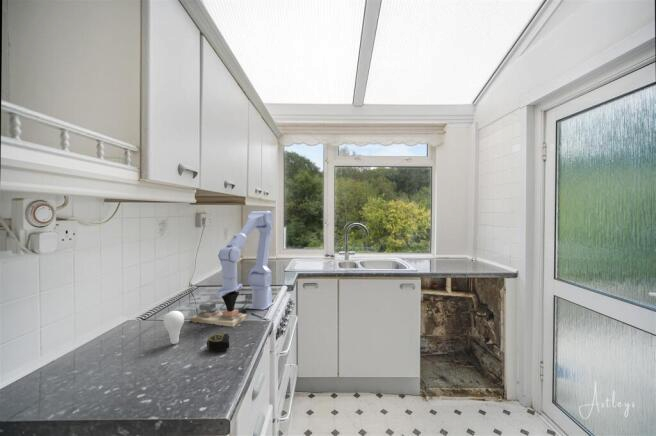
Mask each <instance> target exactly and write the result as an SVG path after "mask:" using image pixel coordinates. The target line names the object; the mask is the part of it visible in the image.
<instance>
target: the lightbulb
mask: <svg viewBox="0 0 656 436" xmlns="http://www.w3.org/2000/svg"><path fill="white" fill-rule="evenodd" d="M184 322H185V316H184V314H183V313H182V312H181V311H179V310H171V311H170V312H168V313H167V314H165V317H164V318H163V326H164V328H166V330H167V332H168V337H169V340H170V343H171V344H173V345H176V344H177V343H178V342H180V341H179V340H180V334H181V329H182V326H183V325H184Z"/></svg>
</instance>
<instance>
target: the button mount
mask: <svg viewBox="0 0 656 436" xmlns="http://www.w3.org/2000/svg"><path fill="white" fill-rule="evenodd" d="M222 312H223V311H220V310H218V309H217V310H215V309H211V310H209V311H206V310H201V311H200V312H198V313H196V314H195V315H194V316H191V317H189V322H190V321H193V322H192V323H197V322H199V323H200V324H205V323H206V325H213V324H215V326H222V325H223V327H232V328H234V327H235V326H237V325H238V324H241V322H243V321H244V320H246V319H247V318H248V313H242V312H238V315H236V316H234V317H232V318H231V317H222ZM199 323H198V324H199Z"/></svg>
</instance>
